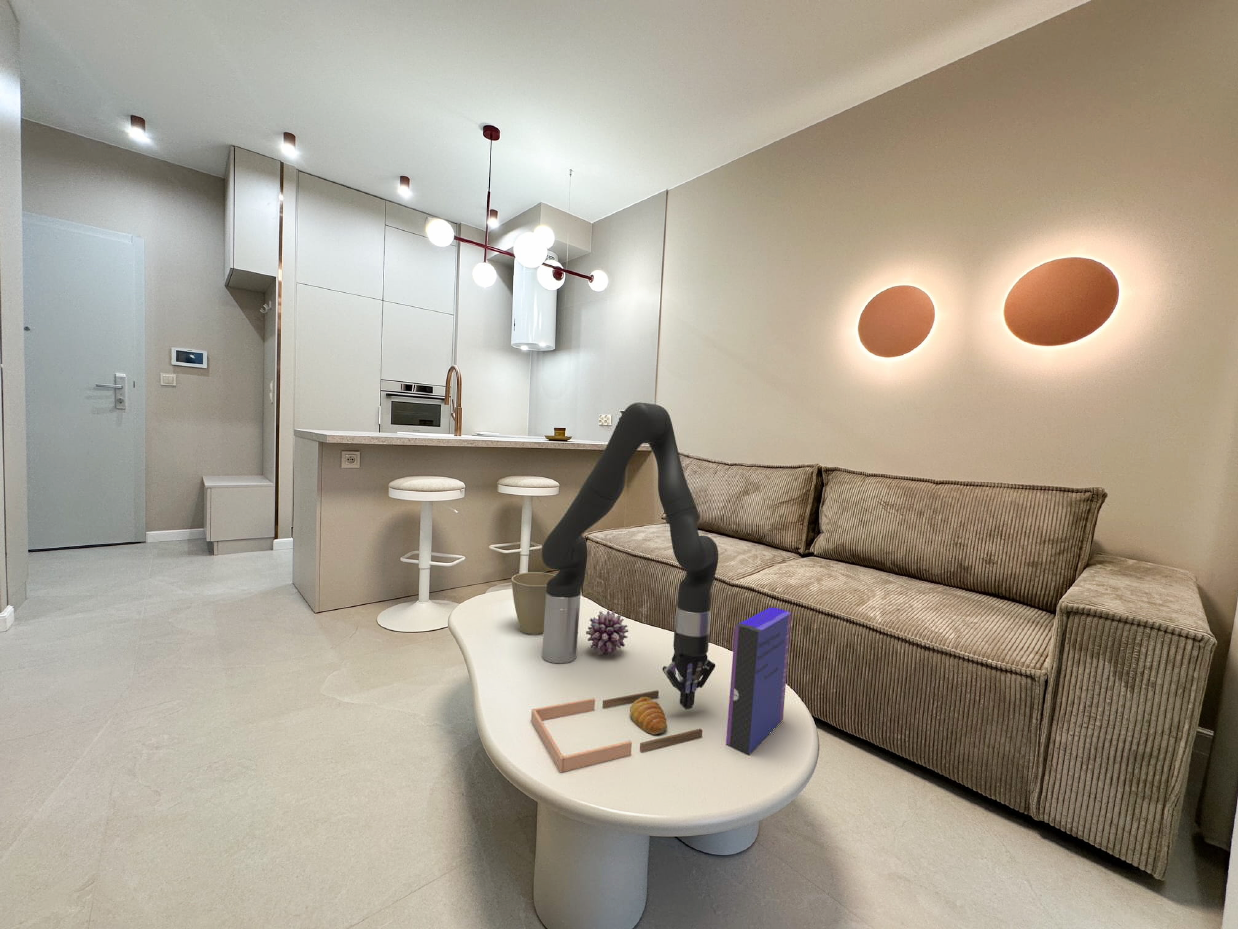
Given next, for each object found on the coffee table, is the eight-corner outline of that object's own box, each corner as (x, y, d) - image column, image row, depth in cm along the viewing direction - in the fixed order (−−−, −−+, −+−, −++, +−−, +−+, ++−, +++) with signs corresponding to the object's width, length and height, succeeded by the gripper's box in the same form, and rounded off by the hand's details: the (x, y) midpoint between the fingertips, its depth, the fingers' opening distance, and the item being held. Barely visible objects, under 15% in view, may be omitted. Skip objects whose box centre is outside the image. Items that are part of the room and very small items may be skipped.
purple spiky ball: (628, 647, 141) (631, 606, 141) (624, 665, 129) (628, 620, 129) (588, 643, 142) (591, 602, 142) (581, 660, 130) (584, 615, 130)
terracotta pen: (530, 721, 100) (531, 709, 100) (593, 709, 106) (594, 698, 106) (560, 772, 85) (561, 759, 85) (630, 755, 91) (631, 742, 91)
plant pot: (503, 624, 153) (506, 573, 152) (549, 620, 159) (552, 571, 159) (514, 642, 139) (518, 586, 139) (564, 637, 145) (568, 583, 145)
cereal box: (761, 712, 110) (770, 606, 109) (782, 720, 107) (791, 611, 106) (725, 744, 97) (735, 624, 96) (748, 755, 94) (758, 631, 93)
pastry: (674, 734, 99) (676, 715, 99) (644, 740, 97) (646, 721, 97) (653, 710, 108) (654, 693, 108) (625, 715, 105) (626, 697, 105)
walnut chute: (602, 707, 107) (602, 700, 107) (657, 696, 114) (657, 690, 114) (641, 752, 92) (641, 744, 92) (701, 737, 98) (702, 730, 98)
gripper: (706, 619, 113) (700, 694, 113) (656, 625, 107) (651, 704, 107) (727, 631, 106) (721, 710, 106) (676, 638, 100) (670, 722, 100)
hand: (686, 707), depth 107 cm, fingers closed
